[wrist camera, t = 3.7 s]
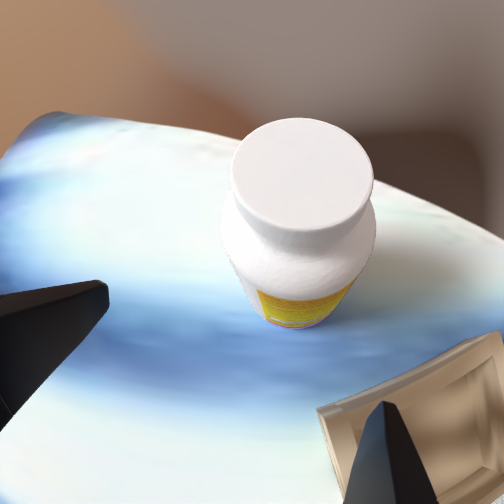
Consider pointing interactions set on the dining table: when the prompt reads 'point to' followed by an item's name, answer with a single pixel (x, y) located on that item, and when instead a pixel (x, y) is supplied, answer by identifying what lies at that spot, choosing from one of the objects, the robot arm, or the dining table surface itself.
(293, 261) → the supplement bottle
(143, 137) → the dining table surface
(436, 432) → the birch box
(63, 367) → the dining table surface
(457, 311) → the dining table surface
